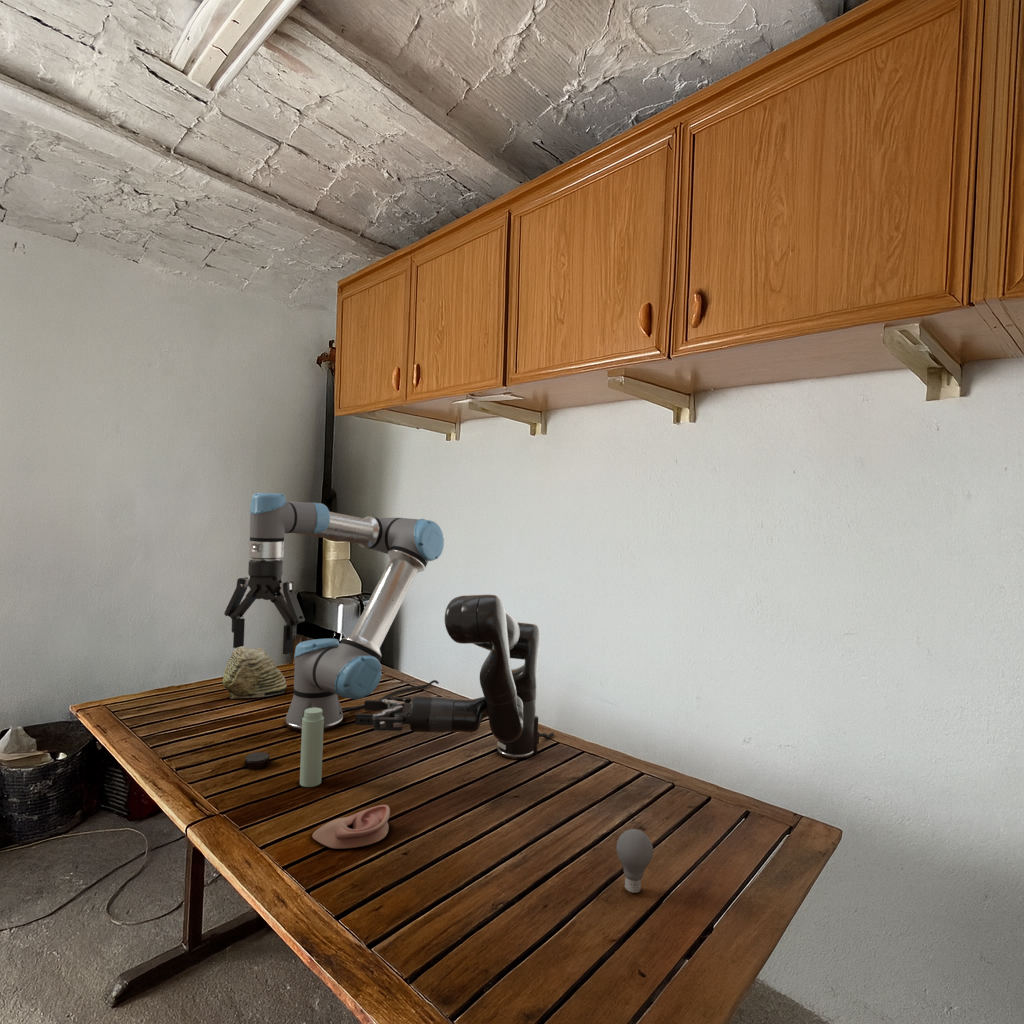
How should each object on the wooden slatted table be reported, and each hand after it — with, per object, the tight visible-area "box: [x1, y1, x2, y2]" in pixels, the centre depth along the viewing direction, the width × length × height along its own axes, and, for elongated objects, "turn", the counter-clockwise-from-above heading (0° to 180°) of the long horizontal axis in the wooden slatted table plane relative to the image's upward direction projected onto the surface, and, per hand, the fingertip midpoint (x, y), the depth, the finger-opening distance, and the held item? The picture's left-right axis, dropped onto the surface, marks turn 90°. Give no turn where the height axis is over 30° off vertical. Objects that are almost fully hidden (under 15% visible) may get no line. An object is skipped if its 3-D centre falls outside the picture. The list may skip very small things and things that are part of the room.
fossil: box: [222, 646, 288, 699], centre depth 198 cm, size 9×18×15 cm, turn 132°
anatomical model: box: [311, 804, 391, 850], centre depth 119 cm, size 13×4×12 cm
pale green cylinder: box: [299, 708, 324, 788], centre depth 140 cm, size 5×5×16 cm
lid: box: [244, 751, 270, 770], centre depth 148 cm, size 5×5×2 cm
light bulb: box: [615, 828, 654, 894], centre depth 106 cm, size 6×6×10 cm
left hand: (262, 650), depth 148 cm, fingers open, 13 cm apart
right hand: (360, 711), depth 140 cm, fingers open, 8 cm apart
